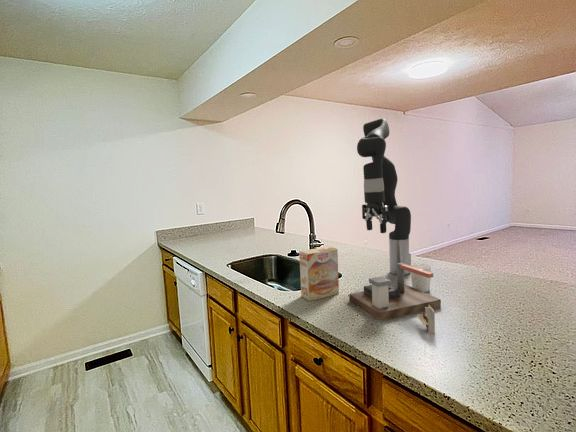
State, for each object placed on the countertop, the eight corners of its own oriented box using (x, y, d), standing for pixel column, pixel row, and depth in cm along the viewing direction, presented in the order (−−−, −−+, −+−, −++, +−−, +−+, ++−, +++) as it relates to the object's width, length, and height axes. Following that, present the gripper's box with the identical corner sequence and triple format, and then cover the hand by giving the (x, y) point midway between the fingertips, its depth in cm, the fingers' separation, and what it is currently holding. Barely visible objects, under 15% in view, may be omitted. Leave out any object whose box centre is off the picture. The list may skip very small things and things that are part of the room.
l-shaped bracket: (396, 290, 129) (395, 263, 128) (401, 289, 130) (400, 262, 129) (428, 304, 113) (428, 274, 112) (434, 303, 114) (434, 273, 113)
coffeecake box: (309, 301, 131) (307, 254, 129) (300, 296, 138) (298, 250, 136) (339, 293, 138) (338, 248, 136) (330, 289, 145) (328, 245, 142)
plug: (382, 301, 119) (381, 276, 118) (391, 306, 114) (391, 280, 113) (369, 304, 118) (368, 278, 117) (378, 309, 113) (377, 282, 111)
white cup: (431, 287, 140) (431, 264, 139) (430, 293, 133) (430, 269, 132) (411, 285, 143) (411, 263, 142) (410, 291, 136) (409, 268, 135)
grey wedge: (423, 335, 100) (423, 312, 99) (417, 325, 107) (416, 303, 106) (435, 335, 100) (434, 311, 99) (428, 325, 107) (427, 303, 106)
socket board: (404, 290, 138) (403, 276, 137) (440, 307, 119) (440, 291, 118) (349, 301, 129) (348, 286, 128) (379, 321, 110) (379, 304, 110)
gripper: (355, 191, 132) (357, 230, 134) (377, 191, 119) (380, 235, 121) (370, 189, 135) (373, 227, 137) (394, 189, 122) (396, 232, 124)
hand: (376, 231), depth 129 cm, fingers open, 8 cm apart
